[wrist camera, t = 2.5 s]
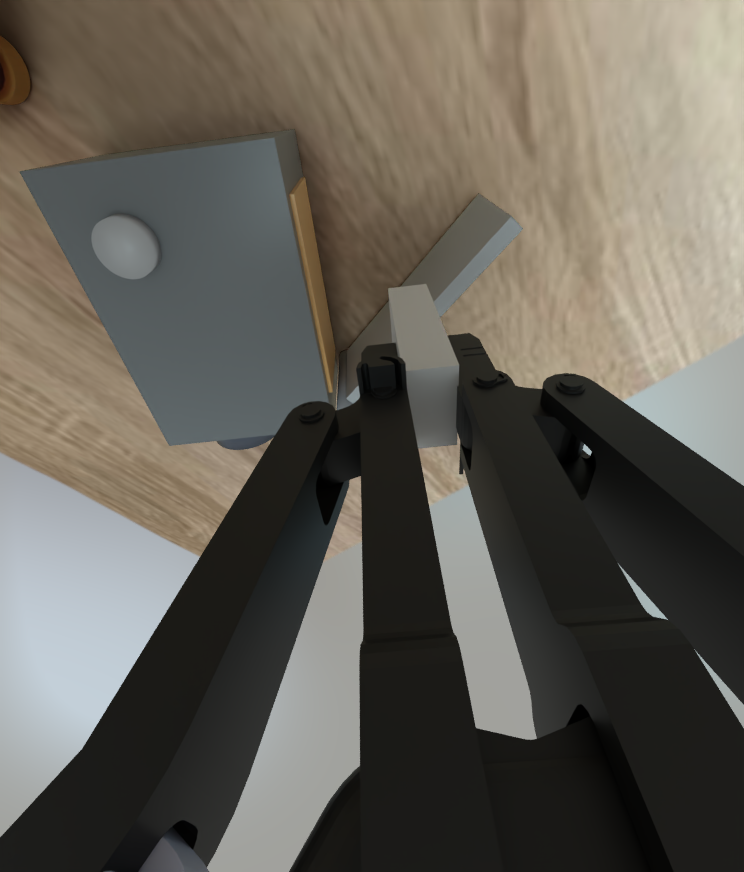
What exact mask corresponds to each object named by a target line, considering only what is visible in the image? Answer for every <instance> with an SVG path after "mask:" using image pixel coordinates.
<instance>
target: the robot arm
mask: <svg viewBox="0 0 744 872" xmlns="http://www.w3.org/2000/svg"><path fill="white" fill-rule="evenodd" d="M388 295H389V308H390V320H391V333H392V343H387V344H378V345H369V346H366V348H365V349H364V350H363V352H362V353H361V362H359V363H358V365H357V367H356V372H357V379H358V386H359V393H360V398H359V399H358V400H357V401H356V402H355V403H353V404H351V405H350V406H348V407H345V408H342V409H339V410H335V408H334V407H333V405H331V404H329V403H327V402H322V401H313V402H312V401H311V402H307V403H303V404H301V405H299V406H297V407H295V408H294V409H292V411H291V412H290V413H289V414H288V415H287V417H286V418H285V420H284V422H283V423H282V425H281V427H280V428H279V430H278V431H277V433H276V435H275V436H274V438H273V440H272V441H271V443H270V444H269V446H268V448H267V449H266V451H265V453H264V454H263V456H262V457H261V459H260V461H259V462H258V464H257V466H256V467H255V469H254V470H253V472H252V474H251V475H250V477H249V479H248V480H247V482H246V484H245V485H244V487H243V488H242V490H241V492H240V493H239V495H238V497H237V498H236V500H235V501H234V503H233V505H232V506H231V508H230V510H229V511H228V513H227V514H226V516H225V518H224V519H223V521H222V523H221V524H220V526H219V527H218V529H217V531H216V532H215V534H214V536H213V537H212V539H211V540H210V542H209V544H208V545H207V547H206V549H205V550H204V552H203V553H202V555H201V557H200V558H199V560H198V562H197V564H196V565H195V566H194V568H193V570H192V571H191V573H190V575H189V576H188V578H187V579H186V581H185V583H184V584H183V586H182V588H181V589H180V591H179V592H178V594H177V596H176V597H175V599H174V601H173V602H172V604H171V606H170V607H169V609H168V610H167V612H166V614H165V615H164V617H163V618H162V620H161V622H160V623H159V625H158V627H157V628H156V630H155V631H154V633H153V635H152V636H151V638H150V640H149V641H148V643H147V644H146V646H145V648H144V649H143V651H142V653H141V654H140V656H139V657H138V659H137V661H136V662H135V664H134V666H133V667H132V669H131V670H130V672H129V674H128V675H127V677H126V679H125V680H124V682H123V684H122V685H121V687H120V688H119V690H118V692H117V693H116V695H115V697H114V698H113V700H112V701H111V703H110V705H109V706H108V708H107V710H106V711H105V713H104V714H103V716H102V718H101V719H100V721H99V723H98V724H97V726H96V727H95V729H94V731H93V732H92V734H91V736H90V737H89V739H88V740H87V742H86V744H85V745H84V747H83V749H82V750H81V751H80V752H79V753H78V754H77V755H76V756H75V757H74V759H72V761H71V762H70V763H69V764H68V765H67V766H66V767H65V768H64V769H63V770H62V771H61V772H60V773H59V775H58V776H57V777H56V778H55V779H54V780H53V781H52V782H51V783H50V784H49V785H48V786H47V788H46V789H45V790H44V791H43V792H42V793H41V794H40V795H39V796H38V797H37V798H36V799H35V801H34V802H33V803H32V804H31V805H30V806H29V807H28V808H27V809H26V810H25V812H23V813H22V815H21V816H20V817H19V818H18V819H17V820H16V821H15V822H14V823H13V824H12V826H10V828H9V829H8V830H7V831H6V832H5V833H4V834H3V835H2V836H1V837H0V872H209V871H208V869H207V866H208V864H209V862H210V861H211V859H212V857H213V856H214V854H215V852H216V850H217V848H218V846H219V844H220V842H221V839H222V837H223V835H224V833H225V831H226V829H227V827H228V825H229V823H230V821H231V819H232V817H233V815H234V812H235V810H236V807H237V805H238V802H239V799H240V797H241V794H242V792H243V789H244V787H245V784H246V782H247V779H248V777H249V774H250V771H251V768H252V765H253V763H254V760H255V757H256V754H257V751H258V748H259V745H260V742H261V739H262V737H263V734H264V731H265V728H266V725H267V722H268V719H269V716H270V713H271V710H272V708H273V704H274V702H275V699H276V696H277V693H278V690H279V687H280V684H281V681H282V679H283V676H284V673H285V670H286V667H287V664H288V661H289V658H290V655H291V652H292V650H293V646H294V644H295V641H296V638H297V635H298V632H299V629H300V627H301V623H302V621H303V618H304V615H305V612H306V609H307V606H308V603H309V600H310V598H311V595H312V592H313V589H314V586H315V583H316V580H317V577H318V574H319V571H320V569H321V566H322V563H323V560H324V557H325V554H326V551H327V548H328V545H329V543H330V540H331V537H332V534H333V531H334V528H335V525H336V522H337V519H338V517H339V514H340V511H341V508H342V505H343V502H344V499H345V496H346V493H347V491H348V488H349V480H350V479H353V478H356V477H358V476H361V500H362V561H363V562H362V563H363V622H364V623H363V624H364V633H363V634H364V635H363V641H362V643H361V647H360V766H359V767H358V768H357V769H356V770H355V771H354V772H353V773H352V774H351V775H350V776H349V777H348V778H347V779H346V780H345V781H344V782H343V783H342V785H341V786H340V787H339V788H338V790H337V791H336V793H335V794H334V795H333V797H332V798H331V799H330V801H329V803H328V804H327V806H326V807H325V809H324V811H323V812H322V814H321V816H320V818H319V820H318V821H317V823H316V825H315V827H314V828H313V830H312V832H311V834H310V836H309V837H308V839H307V841H306V843H305V844H304V846H303V848H302V850H301V851H300V853H299V855H298V857H297V858H296V860H295V862H294V864H293V866H292V867H291V869H290V871H289V872H744V728H743V727H742V725H741V723H740V722H739V720H738V719H737V717H736V715H735V714H734V712H733V711H732V709H731V707H730V706H729V704H728V703H727V701H726V700H725V698H724V696H723V695H722V693H721V691H720V690H719V688H718V687H717V685H716V684H715V682H714V680H713V679H712V677H711V675H710V674H709V672H708V671H707V669H706V668H705V666H704V664H703V663H702V661H701V660H700V658H699V656H698V655H697V653H698V654H699V655H700V656H701V657H702V658H703V659H704V660H705V662H706V663H707V664H708V665H709V666H710V667H711V668H712V669H713V671H714V672H715V673H716V674H717V675H718V676H719V677H720V678H721V680H722V681H723V682H724V683H725V684H726V685H727V686H728V687H729V688H730V689H731V691H732V692H733V693H734V694H735V695H736V696H737V698H738V699H739V700H740V701H741V702H742V703H743V704H744V486H743V485H741V484H740V483H738V482H737V481H736V480H734V479H732V478H731V477H730V476H729V475H727V474H726V473H724V472H723V471H721V470H720V469H718V468H717V467H716V466H714V465H713V464H711V463H710V462H708V461H707V460H706V459H704V458H703V457H701V456H700V455H698V454H697V453H695V452H694V451H692V450H691V449H690V448H688V447H687V446H685V445H684V444H683V443H681V442H680V441H678V440H677V439H675V438H674V437H672V436H671V435H670V434H668V433H667V432H665V431H664V430H663V429H661V428H660V427H658V426H657V425H655V424H654V423H653V422H651V421H650V420H648V419H647V418H645V417H644V416H642V415H641V414H640V413H638V412H637V411H635V410H634V409H632V408H631V407H629V406H628V405H627V404H625V403H624V402H622V401H621V400H620V399H618V398H617V397H615V396H614V395H612V394H611V393H610V392H608V391H607V390H605V389H604V388H602V387H601V386H599V385H598V384H597V383H595V382H594V381H592V380H590V379H588V378H586V377H584V376H580V375H576V374H571V373H570V374H569V373H564V374H557V375H553V376H551V377H548V378H547V379H546V380H545V381H544V382H543V388H542V389H534V388H523V387H518V386H515V384H514V383H513V381H512V379H511V378H510V377H509V376H508V375H507V374H505V373H503V372H501V371H498V370H495V368H494V366H493V364H492V362H491V360H490V359H489V357H488V355H487V354H486V351H485V349H484V348H483V346H482V344H481V342H480V340H479V339H478V338H476V337H475V336H473V335H471V334H470V333H467V334H458V335H449V336H447V334H446V331H445V329H444V326H443V324H442V321H441V319H440V316H439V314H438V312H437V309H436V307H435V304H434V302H433V299H432V297H431V294H430V292H429V289H428V287H427V285H426V284H421V285H412V286H404V287H395V288H388ZM457 432H458V435H459V438H460V467H459V474H463V469H464V470H465V474H466V477H467V480H468V484H469V487H470V490H471V494H472V497H473V501H474V504H475V507H476V510H477V514H478V517H479V521H480V524H481V527H482V531H483V534H484V537H485V541H486V544H487V548H488V551H489V554H490V558H491V561H492V564H493V568H494V571H495V574H496V578H497V581H498V585H499V588H500V591H501V594H502V598H503V601H504V605H505V608H506V612H507V615H508V618H509V622H510V625H511V628H512V632H513V635H514V638H515V642H516V645H517V648H518V652H519V655H520V659H521V662H522V665H523V669H524V672H525V675H526V679H527V682H528V686H529V689H530V695H531V700H532V713H533V721H534V727H535V732H536V736H537V739H535V740H525V739H521V738H516V737H512V736H507V735H503V734H499V733H494V732H490V731H486V730H481V729H477V728H476V727H475V722H474V717H473V711H472V706H471V701H470V696H469V691H468V686H467V681H466V676H465V671H464V666H463V661H462V656H461V652H460V647H459V643H458V640H457V637H456V636H455V635H454V633H453V630H452V626H451V622H450V616H449V610H448V605H447V600H446V595H445V589H444V584H443V579H442V574H441V568H440V563H439V557H438V552H437V547H436V541H435V536H434V530H433V525H432V520H431V514H430V509H429V504H428V498H427V493H426V488H425V482H424V477H423V472H422V466H421V461H420V456H419V450H418V448H428V447H438V446H448V445H457ZM584 444H585V445H586V446H588V448H589V449H590V450H591V451H592V453H591V456H590V455H588V454H587V453H586V452H584V451H583V450H582V449H583V446H584ZM618 564H619V565H620V566H621V567H622V568H623V569H624V570H625V572H626V573H627V574H628V575H629V576H630V577H631V578H632V579H633V580H634V582H635V583H636V584H637V585H638V586H639V587H640V588H641V590H642V591H643V592H644V593H645V594H646V595H647V596H648V597H649V599H650V600H651V601H652V602H653V603H654V604H655V605H656V606H657V607H658V609H659V610H660V611H661V612H662V613H663V614H664V615H665V617H666V618H667V619H668V620H666V619H661V618H656V617H652V616H651V615H650V614H649V613H647V612H646V611H645V609H644V608H643V606H642V605H641V603H640V601H639V600H638V598H637V596H636V594H635V593H634V591H633V589H632V588H631V586H630V584H629V583H628V581H627V579H626V577H625V575H624V574H623V572H622V570H621V568H620V567H619V565H618ZM694 649H695V650H696V651H697V653H696V651H695V650H694Z"/></svg>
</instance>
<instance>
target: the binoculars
mask: <svg viewBox="0 0 744 872" xmlns="http://www.w3.org/2000/svg"><path fill="white" fill-rule="evenodd" d="M29 92H30V77H29V73H28V70H27V68H26V65H25V63H24V62H23V60H22V58H21V56H20V55H19V54H18V52H17V51H16V49H15V48H14V47H13V46H12V45H11V44H10V43H9V42H8V41H7V40H6V39H4V38H3V37H2V36H1V35H0V104H6V105H15V104H20V103H21V102H23V101H24V100H25V99H26V98H27V97H28V95H29Z"/></svg>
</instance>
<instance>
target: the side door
mask: <svg viewBox="0 0 744 872" xmlns="http://www.w3.org/2000/svg"><path fill="white" fill-rule="evenodd" d="M522 229H523V228H522V227H521V226H520V225H519V224H518V223H517V222H516V221H515V220H514V218H513V217H512V216H510V215H509V214H508V213H506V212H505V211H503V210H502V209H500V208H499V207H498V206H496V205H495V204H493V203H492V202H491V201H489V200H488V199H486V198H485V197H483V196H482V195H481V194H479V193H478V195H477V196H476V197H475V198H474V199H473V201H472V202H471V203H470V204H469V205H468V207H467V208H466V209H465V210H464V211H463V213H462V214H461V215H460V216H459V217H458V218H457V220H456V221H455V222H454V223H453V224H452V226H451V227H450V228H449V229H448V230H447V232H446V233H445V234H444V235H443V236H442V238H441V239H440V240H439V241H438V242H437V244H436V245H435V246H434V247H433V248H432V250H431V251H430V252H429V253H428V254H427V256H426V257H425V258H424V259H423V260H422V261H421V263H420V264H419V265H418V266H417V267H416V269H415V270H414V271H413V272H412V273H411V275H410V276H409V277H408V278H407V279H406V281H405V282H404V283H403V284H402V285H401V287H404V286H412V285H421V284H426V285H427V287H428V289H429V292H430V294H431V297H432V299H433V302H434V304H435V307H436V309H437V312H438V314H439V316H440V317H441V316H442V315H443V314H444V313H445V312H446V311H447V309H448V308H449V307H450V306H451V305H452V304H453V303H454V302H455V301H456V300H457V299H458V298H459V297H460V296H461V295H462V293H463V292H464V291H465V290H466V289H467V288H468V287H469V286H470V285H471V284H472V283H473V282H474V281H475V280H476V279H477V277H478V276H479V275H480V274H481V273H482V272H483V271H484V270H485V269H486V268H487V267H488V266H489V265H490V264H491V262H492V261H493V260H494V259H495V258H496V257H497V256H498V255H499V254H500V253H501V252H502V251H503V250H504V249H505V248H506V246H507V245H508V244H509V243H510V242H511V241H512V240H513V239H514V238H515V237H516V236H517V235H518V234H519V233H520V232H521V230H522ZM387 343H392V333H391V320H390V308H389V301H388V302H387V303H386V304H385V306H384V307H383V308H382V309H381V310H380V312H379V313H378V314H377V315H376V316H375V318H374V319H373V320H372V321H371V322H370V324H369V325H368V326H367V327H366V328H365V330H364V331H363V332H362V333H361V334H360V336H359V337H358V338H357V339H356V340H355V341H354V343H353V344H352V345H351V346H350V347H349V349H348V350H346V351H343V352H341V354H340V358H339V376H338V395H337V410H339V409H342V408H345V407H348V406H350V405H351V404H353V403H355V402H356V401H357V400H358V399H359V398H360V393H359V386H358V379H357V372H356V367H357V365H358V363H359V362H361V353H362V352H363V350H364V349H365V348H366V346H369V345H378V344H387Z"/></svg>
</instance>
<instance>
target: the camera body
mask: <svg viewBox="0 0 744 872" xmlns="http://www.w3.org/2000/svg"><path fill="white" fill-rule="evenodd" d="M20 174H21V175H22V177H23V179H24V181H25V183H26V184H27V186H28V188H29V190H30V192H31V194H32V195H33V197H34V199H35V201H36V203H37V205H38V206H39V208H40V210H41V212H42V214H43V216H44V217H45V219H46V221H47V223H48V225H49V227H50V228H51V230H52V232H53V234H54V236H55V238H56V239H57V241H58V243H59V245H60V247H61V249H62V250H63V252H64V254H65V256H66V258H67V259H68V261H69V263H70V265H71V267H72V269H73V270H74V272H75V274H76V276H77V278H78V280H79V281H80V283H81V285H82V287H83V289H84V291H85V292H86V294H87V296H88V298H89V300H90V302H91V303H92V305H93V307H94V309H95V311H96V313H97V314H98V316H99V318H100V320H101V322H102V324H103V325H104V327H105V329H106V331H107V333H108V334H109V336H110V338H111V340H112V342H113V344H114V345H115V347H116V349H117V351H118V353H119V355H120V356H121V358H122V360H123V362H124V364H125V366H126V367H127V369H128V371H129V373H130V375H131V377H132V378H133V380H134V382H135V384H136V386H137V388H138V389H139V391H140V393H141V395H142V397H143V399H144V400H145V402H146V404H147V406H148V408H149V409H150V411H151V413H152V415H153V417H154V419H155V420H156V422H157V424H158V426H159V428H160V430H161V431H162V433H163V435H164V437H165V439H166V441H167V442H168V444H169V446H172V445H181V444H191V443H200V442H210V441H217V442H218V444H219V445H221V446H222V447H224V448H227V449H233V450H243V449H249V448H253V447H256V446H259V445H261V444H263V443H265V442H267V441H269V440H270V439H272V438H273V437H274V436H275V435H276V433H277V431H278V430H279V428H280V427H281V425H282V423H283V422H284V420H285V418H286V417H287V415H288V414H289V413H290V412H291V411H292V409H294V408H295V407H297V406H299V405H301V404H303V403H307V402H311V401H312V402H313V401H322V402H327V403H329V404H331V405H333V407H334V408H335V407H336V390H337V373H338V368H337V362H336V357H335V352H336V350H335V344H334V338H333V333H332V327H331V322H330V316H329V310H328V305H327V299H326V293H325V288H324V282H323V276H322V271H321V265H320V259H319V254H318V248H317V242H316V237H315V231H314V226H313V220H312V214H311V209H310V203H309V197H308V192H307V186H306V180H305V177H303V173H302V167H301V161H300V156H299V150H298V145H297V139H296V133H295V129H292V130H285V131H277V132H270V133H262V134H255V135H248V136H240V137H233V138H225V139H218V140H210V141H203V142H195V143H188V144H180V145H173V146H165V147H158V148H150V149H143V150H135V151H128V152H120V153H113V154H105V155H100V156H95V157H90V158H85V159H80V160H75V161H70V162H65V163H60V164H55V165H50V166H45V167H40V168H35V169H30V170H25V171H20Z"/></svg>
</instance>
